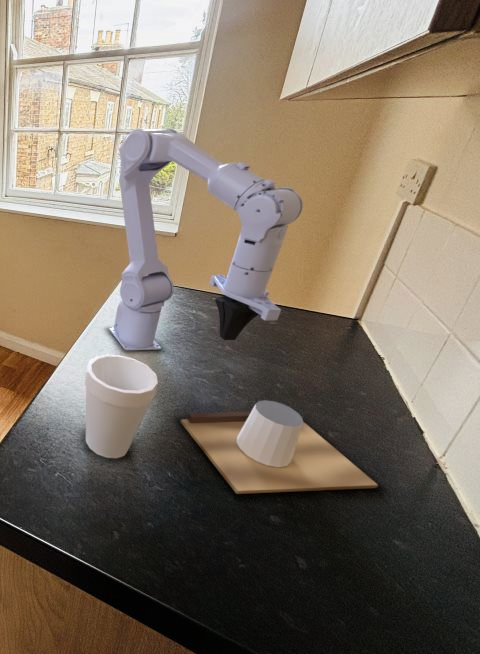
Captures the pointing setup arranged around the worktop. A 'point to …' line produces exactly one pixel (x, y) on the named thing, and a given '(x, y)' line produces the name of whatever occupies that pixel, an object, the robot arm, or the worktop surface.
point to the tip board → (254, 477)
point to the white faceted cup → (270, 433)
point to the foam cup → (116, 402)
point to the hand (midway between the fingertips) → (227, 338)
